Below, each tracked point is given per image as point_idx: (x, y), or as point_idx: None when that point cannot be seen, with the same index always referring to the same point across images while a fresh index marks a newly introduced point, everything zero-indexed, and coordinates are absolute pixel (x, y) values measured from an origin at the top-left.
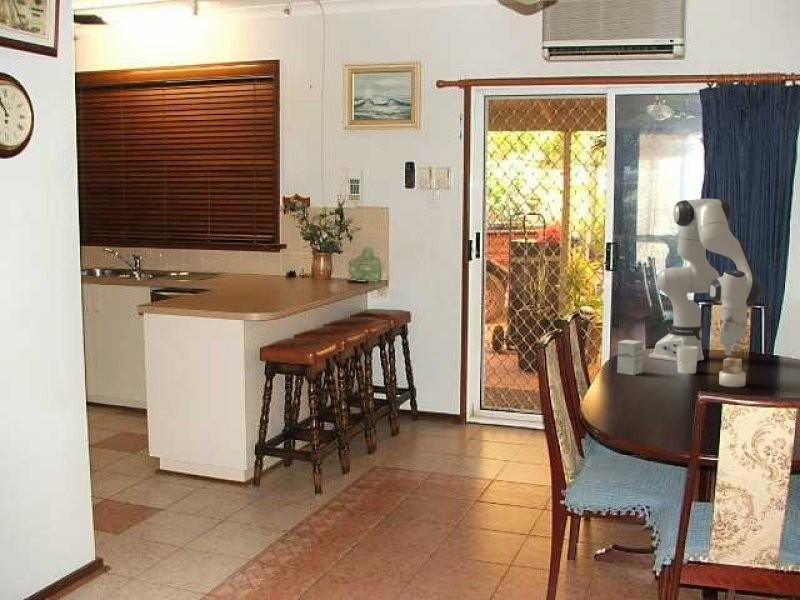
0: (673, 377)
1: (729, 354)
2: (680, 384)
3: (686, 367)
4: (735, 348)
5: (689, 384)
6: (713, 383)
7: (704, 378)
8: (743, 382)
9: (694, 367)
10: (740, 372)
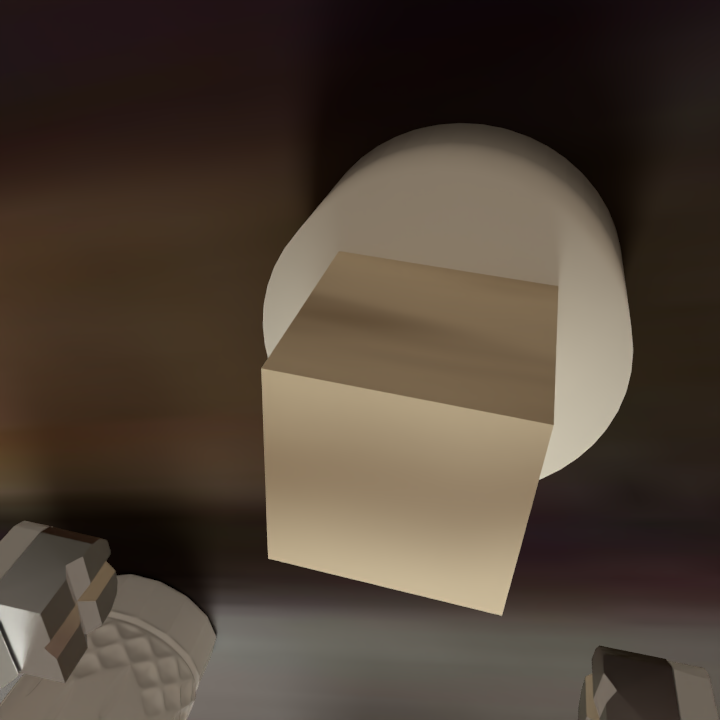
0: (394, 689)
1: (700, 688)
2: None
3: (189, 669)
4: (78, 605)
5: (649, 614)
6: None
7: None
8: (522, 151)
9: (135, 623)
10: (382, 261)
